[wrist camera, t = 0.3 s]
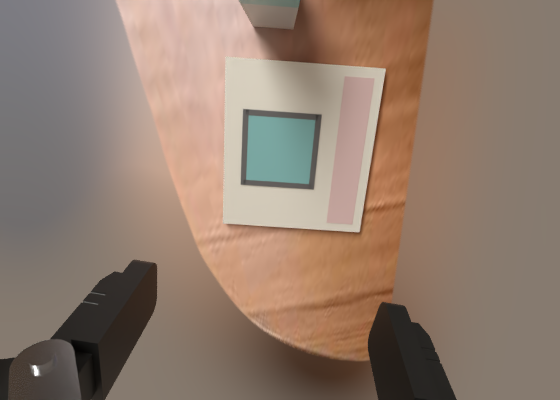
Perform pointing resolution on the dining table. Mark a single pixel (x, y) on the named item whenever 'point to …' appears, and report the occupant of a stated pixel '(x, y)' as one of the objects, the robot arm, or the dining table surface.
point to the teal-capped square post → (271, 12)
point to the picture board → (298, 143)
